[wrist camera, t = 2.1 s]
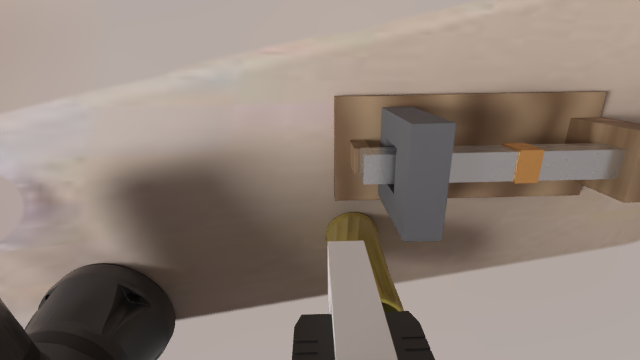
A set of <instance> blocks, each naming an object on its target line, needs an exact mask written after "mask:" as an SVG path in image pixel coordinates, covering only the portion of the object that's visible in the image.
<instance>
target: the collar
mask: <svg viewBox="0 0 640 360" xmlns="http://www.w3.org/2000/svg"><path fill="white" fill-rule="evenodd" d="M455 129H456V123H455V122H452V121H449V120H447V119H444V118H441V117H438V116H436V115H433V114H430V113H428V112H425V111H422V110H420V109H417V108H414V107H382V115H381V137H380V147H396V148H397V153H396V169H395V184H378V195H379V197H380V199H381V201H382V203H383V205H384V207H385V208H386V210H387V212H388V214H389V216H390V218H391V220H392V222H393V224H394V226H395V228H396V230H397V232H398V233H399V235H400V237H401V239H402V241H403V242H413V241H442V235H443V227H444V218H445V210H446V202H447V194H448V186H449V178H450V170H451V161H452V153H453V145H454V137H455Z"/></svg>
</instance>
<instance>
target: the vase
mask: <svg viewBox="0 0 640 360" xmlns="http://www.w3.org/2000/svg"><path fill="white" fill-rule="evenodd" d="M328 241H364V244H365V247H366V251H367V254H368V258H369V261H370V265H371V268H372V272H373V275H374V278H375V282H376V285H377V289H378V292H379V296H380V299H381V303H382V306H383V310H384V312H392V311H404V310H403V307H402V304H401V301H400V299H399V296H398V294H397V291H396V289H395V286H394V284H393V281H392V279H391V276H390V274H389V271H388V267H387V264H386V261H385V258H384V254H383V251H382V247H381V243H380V240H379V237H378V234H377V228H376V226H375V224H374V223H373V222H372V220H371V219H370V218H369V217H367V216H365V215H363V214H360V213H355V212H351V213H345V214H342V215H340V216H338V217H337V218H335V219H334V220H333V221H332V222H331V223H330V224H329V226H328V228H327V230H326V243H327V246H328Z"/></svg>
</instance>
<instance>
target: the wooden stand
mask: <svg viewBox="0 0 640 360" xmlns="http://www.w3.org/2000/svg"><path fill="white" fill-rule="evenodd" d="M606 93H607V92H600V91H582V92H528V93H473V94H419V95H364V96H334V197H335V201H338V200H381V199H380V197H379V195H378V184H366V185H363V183H362V180H361V178H360V176H359V162H360V148H377V147H380V137H381V115H382V107H414V108H417V109H420V110H422V111H425V112H428V113H430V114H433V115H436V116H438V117H441V118H444V119H447V120H449V121H452V122H455V123H456V129H455V137H454V145H453V146H474V145H501V143H526V144H572V143H602V144H606V145H610V146H614V147H617V148H621V149H625V150H626V151H625V154H624V157H623V161H622V164H621V167H620V171H619V174H618V177H617V179H593V180H547V181H538V183H513V182H511V181H502V182H457V183H449V186H448V194H447V198H470V197H514V196H558V195H579V194H580V190H581V186H582V185H584V186H586V187H589V188H591V189H593V190H596V191H598V192H600V193H603V194H605V195H607V196H610V197H612V198H614V199H617V200H619V201H622V202H624V203H625V202H640V124H637V123H631V122H625V121H618V120H612V119H606V118H600V115H601V112H602V108H603V104H604V100H605V97H606Z"/></svg>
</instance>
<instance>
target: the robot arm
mask: <svg viewBox="0 0 640 360" xmlns="http://www.w3.org/2000/svg"><path fill="white" fill-rule="evenodd" d="M328 303H329V314H314V315H301V317H300V318H299V320H298V322H297V324H296V325H295V327H294V340H293V352H292V353H293V354H292V360H435V359H434V356H433V354H432V352H431V351H430V347H429V344H428V342H427V340H426V339H425V335H424V332H423V330H422V327H421V325H420V323H419V322H418V321H417V319H416V318H415V317H413V315H412V314H411V313H409V311H392V312H384V310H383V306H382V303H381V299H380V296H379V292H378V289H377V285H376V282H375V278H374V275H373V272H372V268H371V265H370V261H369V258H368V254H367V251H366V247H365V244H364V241H328ZM174 328H175V315H174V310H173V307H172V305H171V303H170V301H169V299H168V297H167V296H166V295H165V293H164V292H163V291H162V290H161V289H160V288H159V287H158V286H157V285H156V284H155V283H154V282H153V281H151V280H150V279H149V278H147V277H145V276H144V275H142V274H140V273H138V272H136V271H134V270H131V269H128V268H125V267H121V266H116V265H109V264H95V265H88V266H84V267H81V268H78V269H76V270H74V271H72V272H70V273H69V274H67V275H66V276H65V277H63V278H62V279H61V280H60V281H59V282H57V283H56V284H55V285H54V286H53V287H52V288H51V289H50V290H49V291H48V292H47V293H46V294H45V296H44V297H43V299H42V301H41V303H40V305H39V308H38V310H37V311H36V313H35V314H34V315H33V317H32V318H31V320H30V321H29V323H28V325H27V326H26V328H25V330H24V329H23V328H22V326H21V325H20V324H19V322H18V321H17V320H16V319H15V317H14V316H13V315H12V313H11V312H10V311H9V309H8V308H7V307H6V305H5V304H4V303H3V301H2V300H1V299H0V360H157V359H158V358H159V357H160V355H161V354H162V353H163V351H164V350H165V348H166V346H167V344H168V342H169V340H170V338H171V337H172V334H173V331H174Z"/></svg>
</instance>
